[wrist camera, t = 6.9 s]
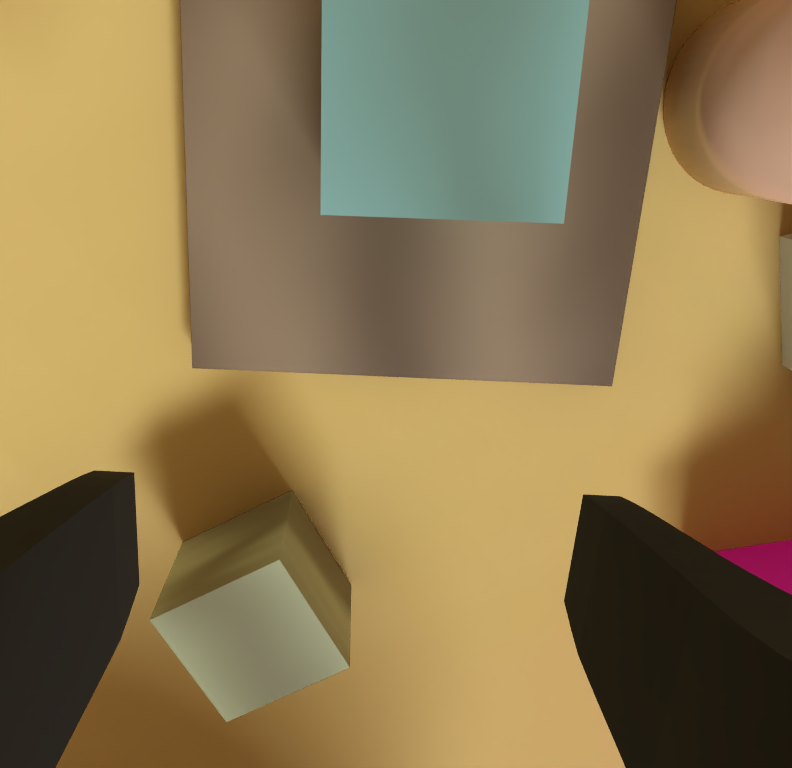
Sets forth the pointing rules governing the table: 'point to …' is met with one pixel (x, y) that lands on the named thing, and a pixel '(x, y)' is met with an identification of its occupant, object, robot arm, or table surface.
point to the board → (402, 219)
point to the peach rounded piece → (735, 101)
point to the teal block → (449, 107)
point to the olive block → (257, 608)
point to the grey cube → (786, 298)
